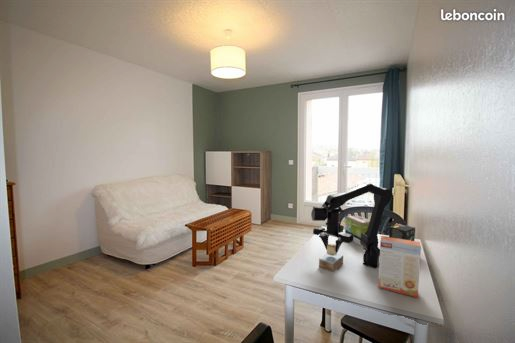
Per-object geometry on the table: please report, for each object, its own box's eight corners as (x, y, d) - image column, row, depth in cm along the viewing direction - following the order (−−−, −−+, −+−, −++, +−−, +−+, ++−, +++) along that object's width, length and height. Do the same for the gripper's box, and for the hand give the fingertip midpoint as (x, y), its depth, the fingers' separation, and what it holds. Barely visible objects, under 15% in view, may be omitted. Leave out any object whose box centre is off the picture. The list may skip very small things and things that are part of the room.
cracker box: (416, 290, 97) (420, 241, 96) (418, 298, 92) (421, 246, 90) (378, 281, 104) (381, 234, 103) (377, 287, 99) (380, 239, 98)
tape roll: (338, 253, 119) (338, 245, 118) (334, 256, 115) (334, 248, 115) (329, 250, 122) (329, 242, 121) (325, 253, 118) (325, 245, 118)
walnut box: (342, 263, 121) (343, 256, 121) (332, 271, 112) (332, 264, 112) (330, 258, 126) (330, 252, 125) (319, 266, 117) (319, 259, 117)
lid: (343, 256, 121) (343, 255, 121) (332, 264, 112) (332, 263, 112) (330, 252, 125) (330, 251, 125) (319, 259, 117) (319, 258, 117)
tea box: (344, 237, 158) (345, 215, 157) (356, 236, 161) (357, 214, 160) (360, 246, 144) (361, 222, 143) (373, 244, 147) (374, 220, 146)
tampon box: (397, 246, 143) (398, 223, 142) (414, 252, 136) (415, 227, 134) (387, 250, 137) (389, 226, 136) (404, 256, 130) (406, 230, 129)
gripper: (358, 220, 117) (356, 251, 118) (323, 214, 129) (322, 241, 131) (349, 225, 109) (347, 258, 110) (313, 218, 121) (312, 247, 122)
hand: (331, 251), depth 118 cm, fingers closed on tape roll, 5 cm apart
